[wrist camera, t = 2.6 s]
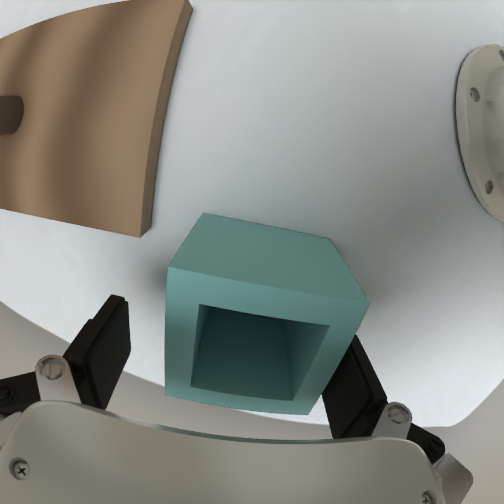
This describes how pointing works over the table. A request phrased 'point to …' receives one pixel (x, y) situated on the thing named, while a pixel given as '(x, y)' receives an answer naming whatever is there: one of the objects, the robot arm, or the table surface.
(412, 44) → the table surface
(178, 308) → the collar
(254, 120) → the table surface
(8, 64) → the post stand
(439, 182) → the table surface
